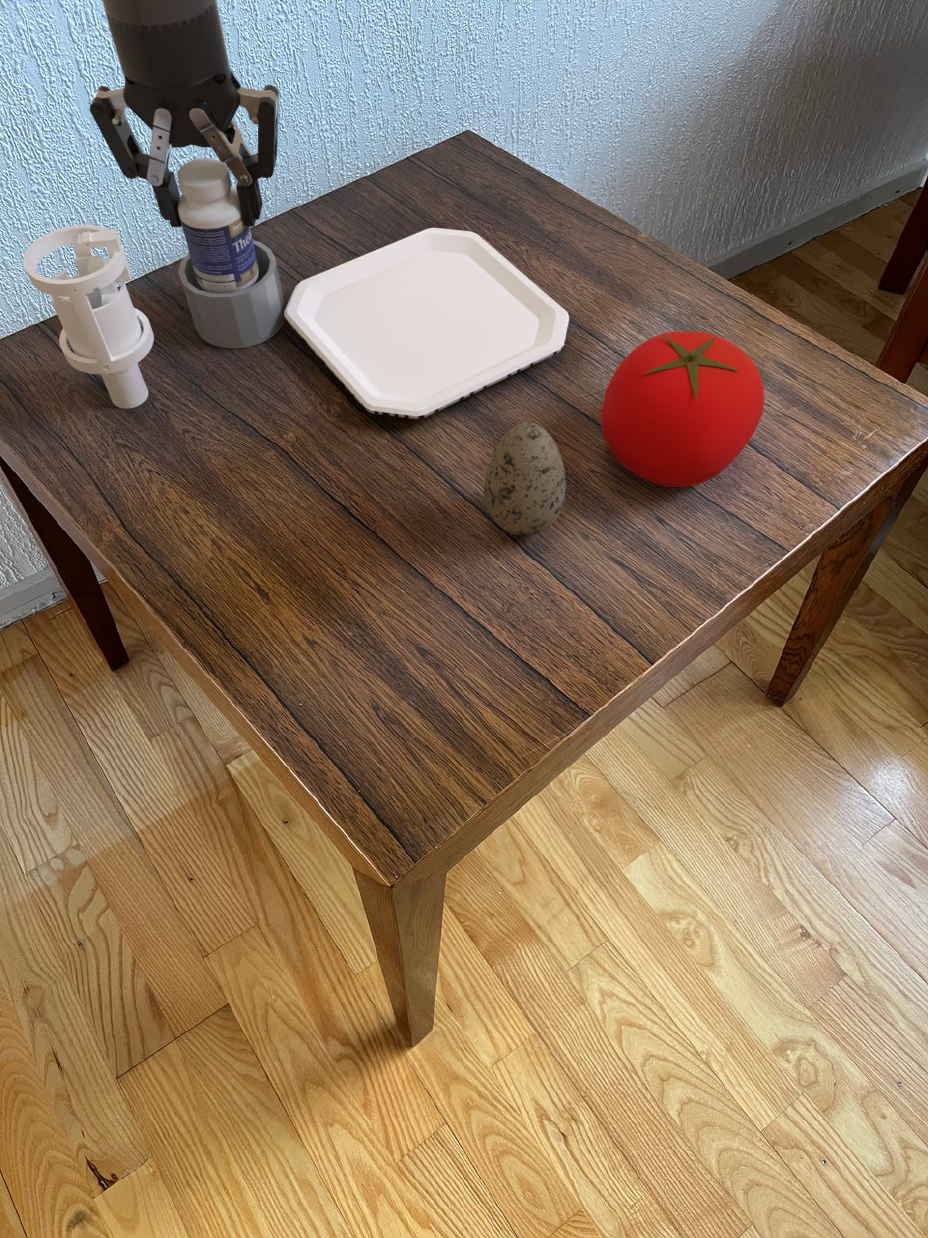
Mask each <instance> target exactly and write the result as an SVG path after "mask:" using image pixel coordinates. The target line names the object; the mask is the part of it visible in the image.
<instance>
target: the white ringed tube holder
mask: <svg viewBox="0 0 928 1238" xmlns="http://www.w3.org/2000/svg"><path fill="white" fill-rule="evenodd" d="M70 244H71V246H72V249H73V250H74V253H75V255H76V257H74V258H73V262H74V264H75V266H76V269H77V272H78V273H76V274H73V275H72V276H71V275H70V276H68V273H67V271H66V269H63V270H61V271H60V272H58V273H57V274H56V275H55V276H54V277H53V278H49V277H46V276H44V275H41V274H40V273H38V272H37V268H38V266H39V264H40V263H41V261H42V260H43V259H44V258H45V257H46V256H48V254H50V253H51V252H53V251H54V250H57V249H59V248H61V247H63V246H67V245H70ZM103 247H106V248H105V249H106V251H107V254H108V257H109V261H108V259H107V258H106V257H104V256H99V255H94V254H93V251H92V249H96V248H103ZM22 263H23V267H24V270H25V273H26V275H27V277H28V279H29V281H30V283H31V285H32V286H33V288H35V289H36V290H38V291H39V292H41V293H42V294H45V295H48V298H49V300H50V301H51V304H52V307H53V308H54V311H55V313H56V315H57V317H58V320H59V323H60V325H61V326H62V330H61V331H60V334H59V339H58V340H59V346H60V347H59V348H60V349H61V351H62V354H63V355H64V357H65V360H66V361H67V363H68V364H69V365H70V366H71V367H72V368H74V369H75V370H77V371H79V372H82V373H86V374H91V375H100V376H101V377H102V380H103V382H104V384H105V385H104V386H105V387H106V389H107V392H108V394H109V397H110V400H111V402H112V404H113V405H114V406H116V407H117V408H120V409H125V410H127V409H134V408H138V407H139V406H141V405H143V403H145V402H146V401H147V399H148V398H149V390H148V387H147V385H146V382H145V380H144V377H143V375H142V372H141V368H140V367H139V363H140V362H141V361H142V360H143V359H144V358H146V356H147V355H148V354H149V353H150V352H151V350H152V348H153V344H154V342H155V341H154V340H155V335H154V332H153V330H152V326H151V324H150V321H149V318H148V317H147V315H146V314H144V312H143V311H141V310H140V309H138V308H136V307H134V305H133V302H132V299H131V296H130V293H129V290H128V288H127V285H126V283H125V282H127V281H132V270H131V267H130V264H129V261H128V259H127V255H126V251H125V249H124V246H123V243H122V241H121V239H120V236H119V232H118V230H117V229H110V228H107V227H105V226H100V225H96V224H95V225H94V224H72V225H67V226H63V227H59V228H56V229H53V230H51V231H49V232H47V233H45V234H42V236H40V237H38V238H37V239H36V240H34V241H33V242H32V243H31V244H30V245H29V246H28V248H27V249H26V251H25V252H24V255H23V259H22ZM116 282H119V283H120V288H118V285H117V283H116ZM142 329H143V330H142ZM71 349H72V350H71Z"/></svg>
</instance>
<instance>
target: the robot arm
mask: <svg viewBox="0 0 928 1238" xmlns="http://www.w3.org/2000/svg"><path fill="white" fill-rule="evenodd" d="M100 1H101V4H102V8H103V11H104V13H105V18H106V21H107V24H108V27H109V32H110V35H111V38H112V41H113V45H114V48H115V51H116V55H117V59H118V62H119V65H120V69H121V73H122V74H123V76H124V86H123V87H121V88H117V89H111V88H110V87H108V86H105V85H100V86H98V88H97V90H96V92H95V94H94V95H93V98H92V100H91V104H90V106H89V113H90V114H91V117H92V118H93V120H94V122H95V124H96V126H97V128H98V130H99V131H100V133H101V135H102V137H103V139H104V141H105V143H106V145H107V146H108V148H109V150H110V152H111V154H112V156H113V158H114V160H115V162H116V164H117V165H118V167H119V169H120V171H121V173H122V175H123V176H124V177H126V179H129V180H134V179H137V178H141V179H143V180H145V181H147V182H148V183H149V184H150V185H151V187H152V190H153V193H154V194H153V195H154V197H155V200H156V204H157V207H158V210H159V213H160V214H159V215H160V216H161V217H162V219H163V220H164V221H169V225H170V228H182V225H181V221H180V218H179V213H178V201H179V199H180V197H181V194H180V191H179V190H180V189H179V186H178V183H177V180H176V175H175V172H174V171H173V170H170V167H169V164H170V159H171V151H172V149H173V148H174V149H175V148H178V149H179V148H181V149H182V148H185V147H189V146H194V147H199V148H211V149H212V151H213V153H214V154H215V155H216V157H217V159H218V160H220V161H221V162H222V163H225V164H226V166H227V167H228V170H229V172H230V174H232V176H233V178H234V179H235V181H236V186H235V188H236V189H237V193H238V198H239V202H240V207H241V211H242V216H243V220H244V225H245V227H250V228H254V227H255V225H256V221H257V220H260V217H261V213H262V209H263V204H264V203H263V199H262V193H261V189H260V183H259V180H260V179H261V178H263V179H270V178H272V177H273V176H274V172H275V168H276V163H277V158H278V137H279V106H280V105H279V103H280V102H279V99H280V94H279V93H280V92H279V90H278V88H277V87H276V86H274V85H272V84H267V85H265V86H263V88H262V90H259V89H254V88H248V87H243V86H241V83H240V82H239V80H238V78H236V76H235V74H234V73H233V71H232V68H231V63H230V59H229V53H228V49H227V44H226V39H225V34H224V30H223V29H224V28H223V24H222V19H221V15H220V10H219V5H218V4H219V3H218V0H100ZM239 107H242V108H244V109H245V110H246V112H247V114H248V119H249V120H250V121H251V123H252V124H254V125H257V152H256V153H254V154H253V153H251V150H250V149H249V148H248V146H247V144H246V143H245V141H244V140H243V135H242V131H241V129H240V128H239V127H238V125H237V124H236V122H235V120H234V119H233V118H234V117H235V115H236V114H237V111H238V109H239ZM128 108H129V110H131V112H132V113H134V114H135V116H137V117H138V118H139V120H141V121H142V123H144V124H145V125H146V126H147V127H148V128H149V129H150V130H151V131H152V132H151V139H150V145H149V146H150V147H149V154H146V153H144V152H143V150H142V148H141V146H140V144H139V142H138V140H137V138H136V136H135V134H134V132H133V130H132V128H131V126H130V124H129V121H128V120H127V118H128V115H129V111H128Z"/></svg>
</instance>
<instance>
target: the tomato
mask: <svg viewBox="0 0 928 1238" xmlns="http://www.w3.org/2000/svg"><path fill="white" fill-rule="evenodd" d="M764 403H765V388H764V384H763V380H762V376H761V374H760V371H759V370H758V368H757V367H756V365H755V363H754V361H753V360H752V359H751V358H750V357H749V355H748V354H747V353H746V352H744V351H743V350H742V349H741V348H739V347H738V346H737V345H735V344H734V343H732V342H731V341H728V340H727V339H725V338H723V337H720V336H718V335H715V334H712V333H710V332H705V331H697V330H681V331H680V330H677V331H670V332H669V331H668V332H663V333H661V334H658V335H655V336H653V337H650V338H649V339H647V340H645V341H643V342H642V343H641V344H639V345H638V346H636V347H635V348H634V349H633V350H632V351H631V352H630V353H629V354H628V355H627V356H626V357H625V358H623V360H622V361H621V362H620V363H619V365H618V367H617V368H616V369H615V371H614V373H613V375H612V377H610V380H609V383H608V384H607V387H606V389H605V393H604V397H603V402H602V406H601V413H600V427H601V431H602V432H601V433H602V436H603V440H604V442H605V443H606V445H607V447H608V449H609V450H610V451H611V453H612V455H613V456H614V457H615V459H616V460H617V461H619V463H621V465H623V467H625V468H626V469H627V470H629V471H630V472H632V473H633V474H634V475H636V476H638V477H640V478H642V479H643V480H646V481H648V482H650V483H653V484H655V485H656V484H657V485H660V486H663V487H664V486H665V487H670V488H671V487H672V488H673V487H674V488H681V487H682V488H683V487H691V486H696V485H699V484H702V483H705V482H707V481H709V480H711V479H713V478H716V477H717V476H718V475H719V474H720V473H722V472H723V471H724V470H726V468H728V467H729V465H731V464H732V463H733V461H734V460H735V459H736V458H737V457H739V455H740V454H741V452H742V451H743V450H744V449H745V447H746V445H747V444H748V443H749V441H750V440H751V439H752V437H753V436H754V434H755V431H756V430H757V427H758V425H759V423H760V421H761V418H762V416H763V414H764Z"/></svg>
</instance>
